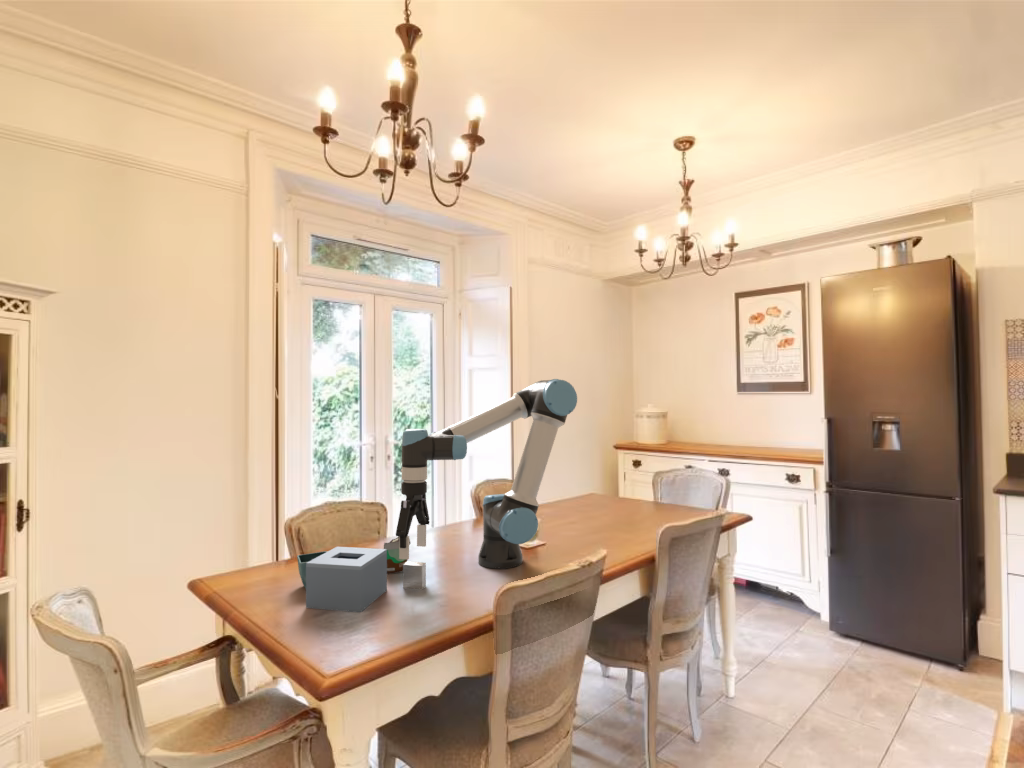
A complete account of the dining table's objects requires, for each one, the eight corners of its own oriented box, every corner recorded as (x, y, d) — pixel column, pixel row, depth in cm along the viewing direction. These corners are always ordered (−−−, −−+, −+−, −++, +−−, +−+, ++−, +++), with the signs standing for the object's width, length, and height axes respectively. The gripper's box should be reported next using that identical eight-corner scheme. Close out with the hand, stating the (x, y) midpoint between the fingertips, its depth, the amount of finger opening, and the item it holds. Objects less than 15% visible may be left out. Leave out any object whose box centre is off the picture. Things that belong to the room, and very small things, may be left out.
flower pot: (299, 594, 152) (299, 562, 153) (296, 584, 160) (296, 554, 160) (331, 588, 156) (331, 558, 157) (327, 579, 164) (327, 550, 164)
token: (425, 586, 158) (425, 562, 158) (422, 589, 155) (422, 565, 155) (407, 584, 159) (407, 561, 159) (403, 588, 156) (403, 564, 157)
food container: (401, 575, 167) (401, 544, 168) (383, 574, 169) (383, 543, 169) (416, 563, 180) (416, 534, 180) (399, 562, 181) (399, 533, 181)
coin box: (386, 590, 155) (386, 549, 155) (360, 612, 139) (360, 566, 139) (337, 586, 158) (337, 546, 158) (306, 607, 142) (306, 562, 142)
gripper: (417, 474, 171) (416, 540, 170) (384, 486, 147) (383, 563, 146) (439, 475, 170) (439, 542, 169) (409, 487, 145) (408, 565, 144)
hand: (413, 552), depth 157 cm, fingers open, 13 cm apart
